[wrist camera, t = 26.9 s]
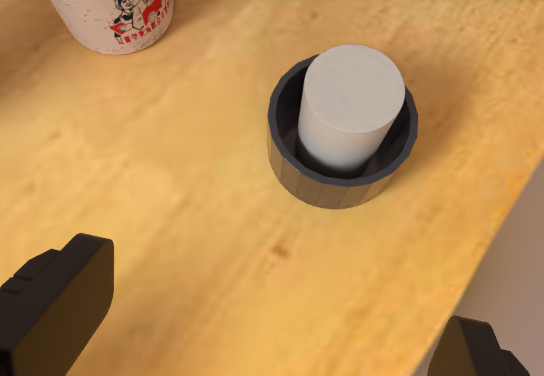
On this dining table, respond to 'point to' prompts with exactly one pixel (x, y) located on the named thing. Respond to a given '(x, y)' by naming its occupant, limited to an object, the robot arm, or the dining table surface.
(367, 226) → the dining table surface
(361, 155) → the plain white cylinder
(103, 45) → the teacup with lid
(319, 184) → the dark round open container
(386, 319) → the dining table surface
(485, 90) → the dining table surface
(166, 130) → the dining table surface
